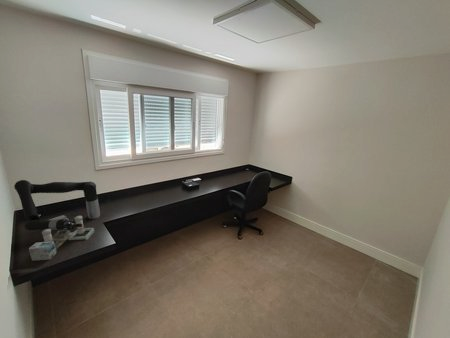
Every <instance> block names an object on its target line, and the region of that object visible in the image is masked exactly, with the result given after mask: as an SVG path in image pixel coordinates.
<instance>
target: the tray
mask: <svg viewBox="0 0 450 338" xmlns="http://www.w3.org/2000/svg"><path fill="white" fill-rule="evenodd" d="M84 230H85V232H88V233H87V234H86V235H85V236H83V235H82V236H76V234H78V233H77V229H76V230H74V231H73V232H74V233H73V234H71V235H70V236H69V237H68V239H67V240H68V241H73V240H74V241H76V240H84V241H85V242H87V241H88V240H89V239H90V238H91V236H92V235H93V234H94V233H95V227H84Z"/></svg>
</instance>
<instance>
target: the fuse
mask: <svg viewBox="0 0 450 338" xmlns="http://www.w3.org/2000/svg"><path fill="white" fill-rule="evenodd" d="M41 234H42V237H43V242H50V241H53V239H52V237H53V235H52V230H51V229H46V230H43V229H42V231H41Z"/></svg>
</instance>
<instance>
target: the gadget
mask: <svg viewBox="0 0 450 338" xmlns="http://www.w3.org/2000/svg"><path fill="white" fill-rule="evenodd" d="M55 219H67V220H68V221H70V219H69V218H68V217H67V216H66V215H63V214H62V215H60V216H56V217H54V218H50V219H48V220H55Z"/></svg>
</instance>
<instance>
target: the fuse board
mask: <svg viewBox="0 0 450 338" xmlns="http://www.w3.org/2000/svg"><path fill="white" fill-rule="evenodd" d="M74 232H75V231H73V232H71V231H70V230H64V229H60V230H57V232H55V233H54V234H53V235H52V239H53V241H54V244H55V248H56V251H57V250H58V248H60V246H62V245H63V244H64V243H65V242H66V240H69V239H68V237H69V236H70V235H71V234H73V233H74Z"/></svg>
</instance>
